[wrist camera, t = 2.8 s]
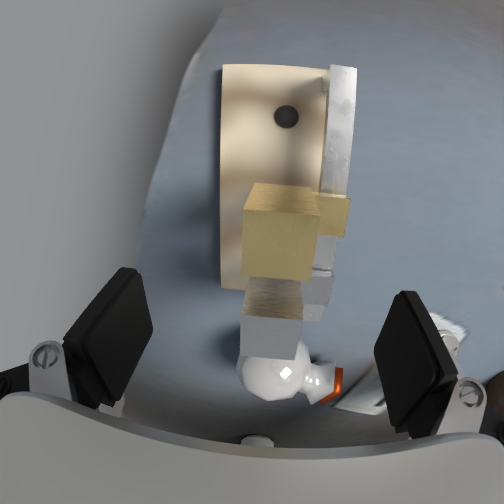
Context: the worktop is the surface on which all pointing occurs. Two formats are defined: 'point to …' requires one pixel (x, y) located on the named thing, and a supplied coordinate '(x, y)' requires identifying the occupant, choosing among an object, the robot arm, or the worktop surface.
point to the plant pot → (496, 393)
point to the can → (257, 441)
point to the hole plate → (265, 144)
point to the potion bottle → (290, 377)
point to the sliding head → (288, 229)
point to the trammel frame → (319, 287)
